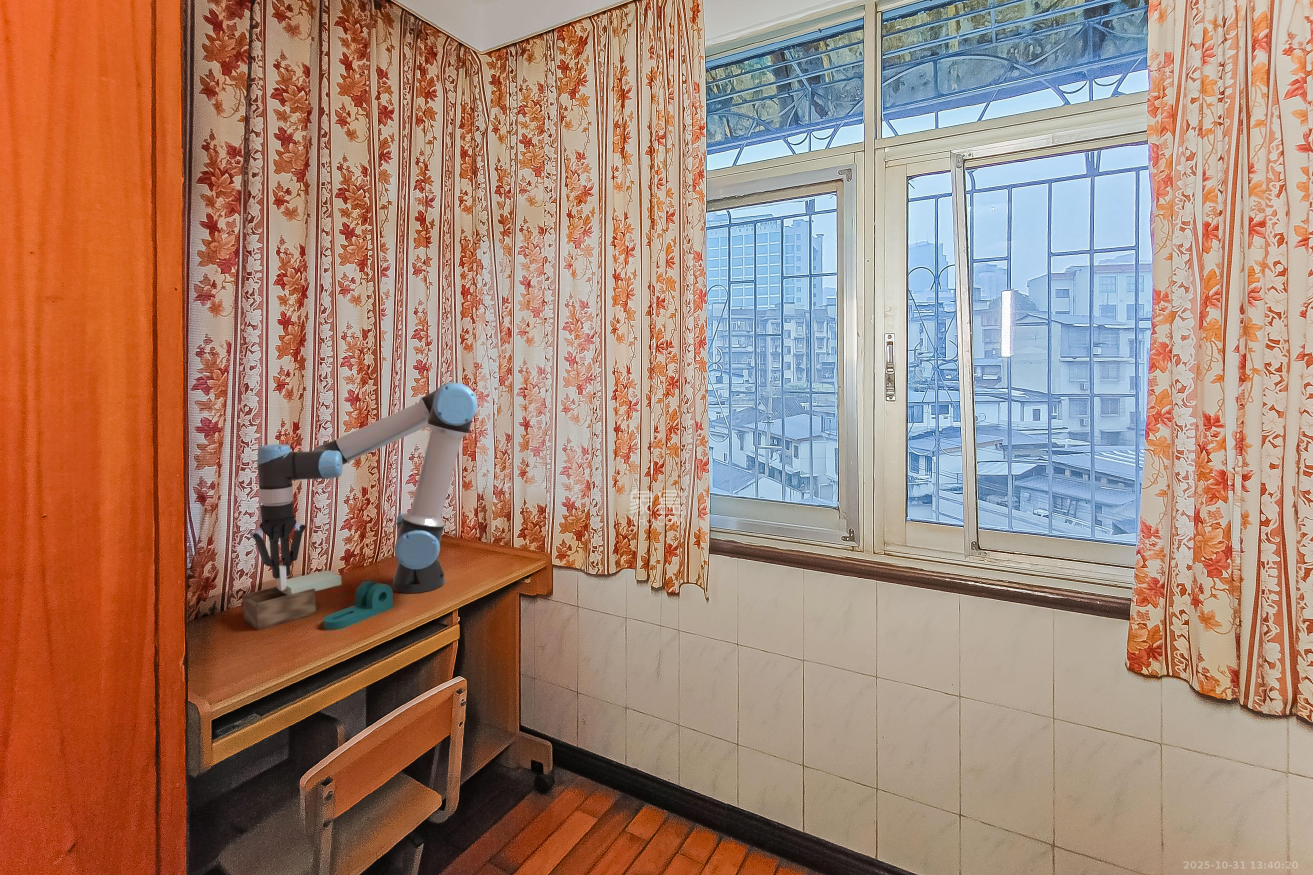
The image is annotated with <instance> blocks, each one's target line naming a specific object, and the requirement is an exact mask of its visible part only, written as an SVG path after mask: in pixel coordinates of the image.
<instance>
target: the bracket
mask: <svg viewBox="0 0 1313 875" xmlns="http://www.w3.org/2000/svg"><path fill="white" fill-rule="evenodd" d="M354 598H355V599H354V600H355V602H354V603H355V604H353V605H351V606H349V607H346V608H343V609H341V610H339V611H336V612H333V613H330V614H328V615H326V616H325V617H323V619H322V622H323V628H324V629H325V630H328V631H336V630H337V631H338V630H342V629H345V628H348V627H350V626H352V625H355V624H358V623H361V622H363V621H365V620H367V619H369V618H372V617H374V616H376V615H379V614H382V613H384V612H387V611H389V610H392V609H393V608H394V592H393V587H392V586H391V585H389V584H385V583H381V582H376V581H373V580H364V581H363V582H361V583H360V584H359V585H358V587H357V589H356V590H355V595H354Z"/></svg>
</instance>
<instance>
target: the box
mask: <svg viewBox="0 0 1313 875" xmlns="http://www.w3.org/2000/svg"><path fill="white" fill-rule="evenodd" d="M241 598H242V612H243V613H242V615H243V621H244V622H245V623H247V624H248V625H249V626H251V627H253V628H254V629H255V630H257V631H260V630H264V629H267V628H271V627H274V626H278V625H281V624H285V623H288V622H292V621H295V620H299V619H302V618H306V617H308V616H309V617H310V616H312V615H316V614H317V604H316V602H317V601H316V591H315V589H310V590H306V591H302V592H298V593H294V594H290V595H287V594H285V593H283V592H281V591H280V590H279V589H277V586H273V587H268V588H265V589H261V590H260V589H259V590H257V591H253V592H248V593H244V594H242V595H241Z"/></svg>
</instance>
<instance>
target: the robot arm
mask: <svg viewBox="0 0 1313 875" xmlns="http://www.w3.org/2000/svg"><path fill="white" fill-rule="evenodd" d="M477 412H478V399H477V396H476V394H475V392H474V391H473V389H471V388H470V387H468V386H467V385H466V384H463V383H459V382H446V383H445V384H442V385H441V386H439V387H438V388H436V389H435V390H434V391H431V392H430V393H429V394H426V395H424V396H422V397H420V398H419V401H418V402H416V403H415V404H412V405H410V406H407V407H405V408H403V409H401V410H398V411H396V412H395V413H392V414H389V415H388V416H385V417H383V418H380V419H378V420H377V421H374V422H372V423H370V424H368V425H366V426H363V427H361V428H358V429H356V430H354V431H351V432H349V433H346V434H345V435H343V436H341V437H339V438H336V439H334V440H331V441H329V442H327V443H324V444H323V443H322V444H321V445H318V446H316V447H314V449H313V450H312V451H311V450H310V451H292V449H291V446H290V445H289V444H281V443H280V444H266V445H262V446H261V445H260V447H258V448H257V462H256V466H257V474H258V487H259V488H258V491H259V502H260V504H261V505H260V506H259V507H260V508H259V509H260V519H261V520H260V521H261V522H260V524H259V527H258V529H256V530H254V531H251V532H250V534H249V536H250V537H251V538H252V539H253V540H254V542H255V544H256V546H257V550H258V552H259V555H260V558H261V560H262V563H263V565H264V566H266V567H271V572H272V573H271V574H272V578H273V579H274V580H276V587H277V589H279V590H281V591H282V590H286V589H287V579H288V577H289V576H290V575H291V569H290V568H291V567H290V566H291V565H292V562H296V561H297V560H298V556H299V550H300V546H301V541H302V537H303V533H304V532H305V530H306V528H307V526H306V524H303V523H300V522H297V519H296V518H295V506H294V505H295V504H294V502H293V501H294V486H293V481H298V480H299V481H300V480H321V479H326V480H329V479H334V478H335V479H336V478H339V477H341V476H342V474H343V468H344V465H346V464H348V463H349V462H351V461H354V460H356V459H359V458H361V457H362V456H366V455H367V454H370V453H372V452H374V451H377V450H378V449H380V448H383V447H386V446H387V445H389V444H393V443H394V442H396V441H398V440H401V439H403V438H405V437H408V436H410V435H412V434H414V433H416V432H418V431H421V430H423V429H425V428H427V427H429V429H430V436H429V439H428V443H427V447H426V450H425V451H426V452H425V453H424V457H423V460H422V464H421V469H420V473H419V476H418V479H417V480H418V481H417V484H416V489H415V493H414V495H413V500H412V503H411V506H410V511H409V512H405V513H401V514H398V515H397V517H396V523H395V525H396V540H395V541H396V542H395V544H394V548H393V549H394V550H393V551H394V555H395V557H396V559H397V564H396V569H395V571H394V576H393V578H392V579H393V580H392V590H394V591H395V592H398V593H401V594H402V593H403V594H419V593H424V592H425V593H426V592H431V591H434V590H436V589H439V588H441V587H442V586H444V584H445V583H446V581H445V580H446V576H445V572H444V570H443V568H442V564H441V562H440V560H439V555H440V553H441V552H440V551H441V545H440V544H441V541H442V540H441V539H442V537H443V533H444V528H445V525H446V524H445V521H444V520H443V518H442V515H443V511H444V508H445V504H446V499H447V496H448V492H449V488H450V485H451V480H452V476H453V472H454V470H455V466H456V461H457V458H458V454H459V450H460V447H461V444H462V439H463V438H464V437H466V436H468V435H469V434H470V430H471V426H472V423H473V418H474V417H475V415H476V414H477ZM293 530H294V531H293ZM292 531H293V536H292V540H291V544H290V539H291V538H290V533H291V532H292ZM264 534H265V535H266V536H267V537H268V541H269V550H270V552H269V551H268V549H267V545H266V543H265V541H264V538H263V537H264ZM279 543H280V544H279ZM279 545H280V549H279ZM269 553H270V554H269ZM280 557H281V563H280Z"/></svg>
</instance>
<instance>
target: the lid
mask: <svg viewBox="0 0 1313 875" xmlns="http://www.w3.org/2000/svg"><path fill="white" fill-rule="evenodd" d="M338 586H342V575H341V574H337V573H336V572H334V571H331V570H328V569H327V570H322V571H319V572H318V571H317V572H314V573H313V572H312V573H309V574H308V573H307V574H305V575H301V576H297V577H292V578H287V589H286V590H282V591H281V590H280V591H281V592H283V593H285V594H287V595H290V594H294V593H298V592H302V591H306V590H310V589H315V592H318V591H321V590H326V589H329V588H333V587H338Z"/></svg>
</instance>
